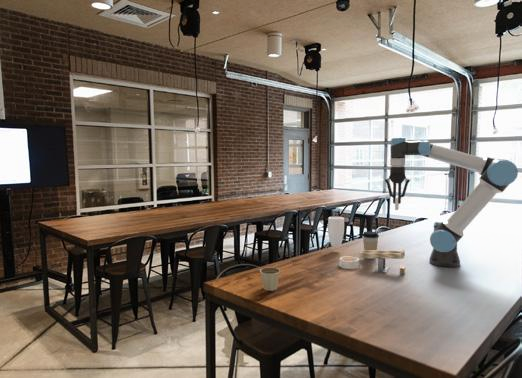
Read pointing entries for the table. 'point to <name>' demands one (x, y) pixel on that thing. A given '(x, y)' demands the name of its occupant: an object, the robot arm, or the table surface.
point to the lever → (382, 254)
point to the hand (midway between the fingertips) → (396, 209)
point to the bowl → (349, 262)
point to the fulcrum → (385, 267)
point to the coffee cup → (370, 241)
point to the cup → (336, 231)
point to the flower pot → (270, 278)
